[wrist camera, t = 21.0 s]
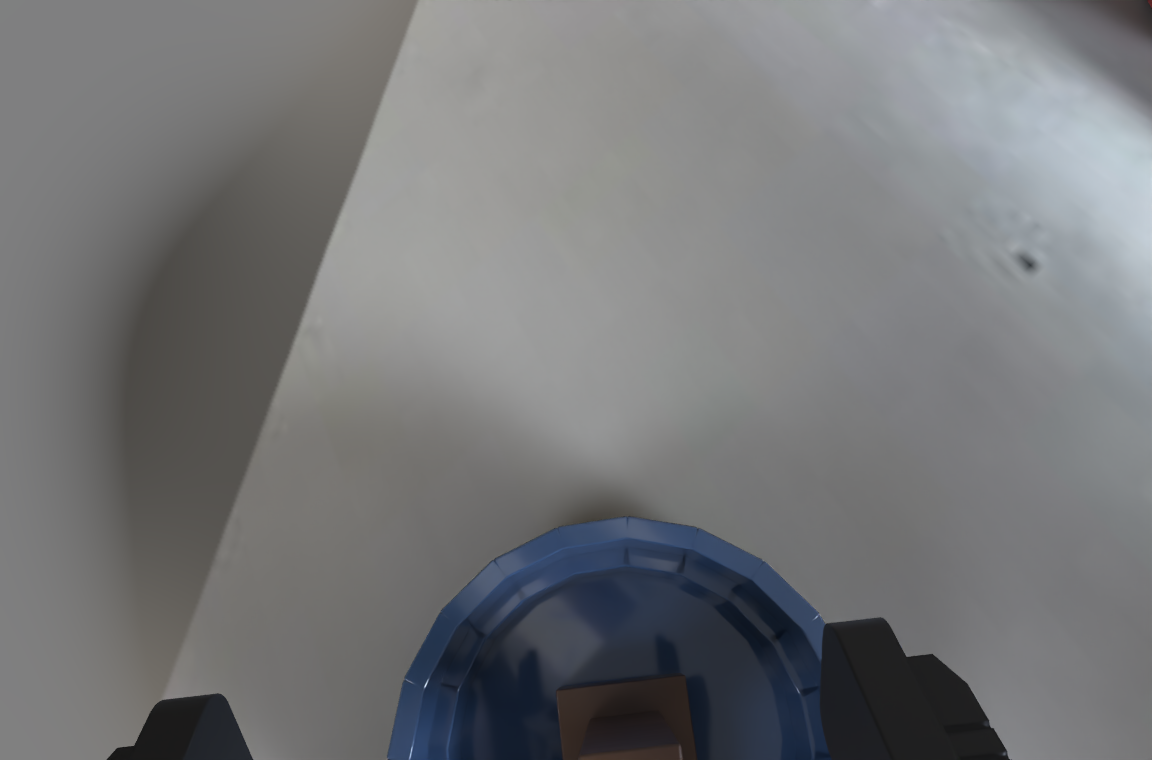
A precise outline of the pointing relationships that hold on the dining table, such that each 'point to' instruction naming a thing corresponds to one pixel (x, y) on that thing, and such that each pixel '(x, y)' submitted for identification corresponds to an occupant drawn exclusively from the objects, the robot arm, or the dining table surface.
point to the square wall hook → (627, 720)
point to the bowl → (617, 646)
